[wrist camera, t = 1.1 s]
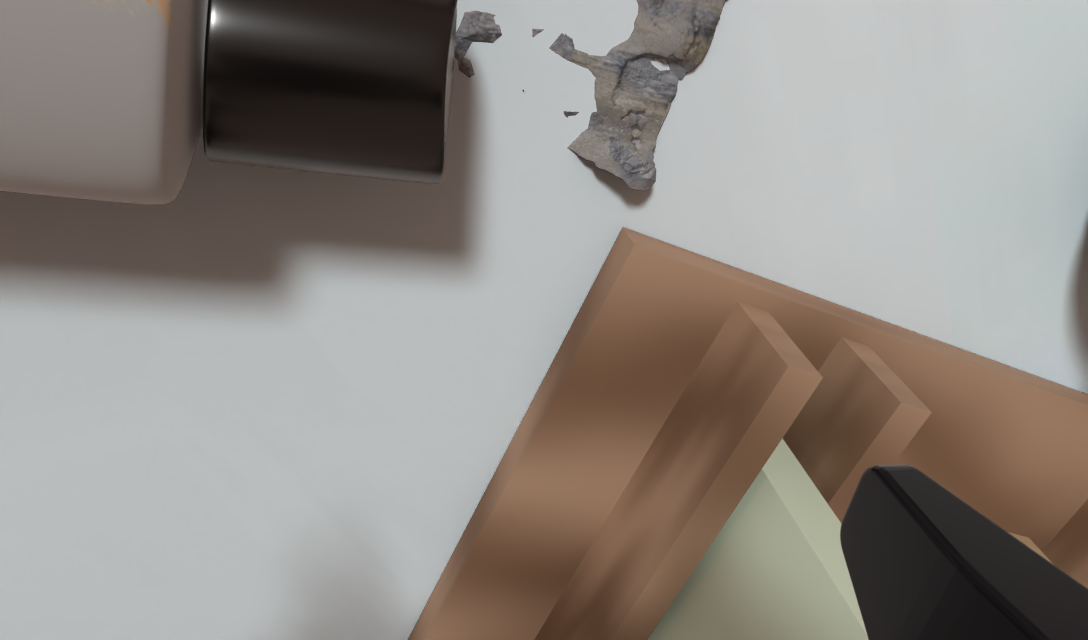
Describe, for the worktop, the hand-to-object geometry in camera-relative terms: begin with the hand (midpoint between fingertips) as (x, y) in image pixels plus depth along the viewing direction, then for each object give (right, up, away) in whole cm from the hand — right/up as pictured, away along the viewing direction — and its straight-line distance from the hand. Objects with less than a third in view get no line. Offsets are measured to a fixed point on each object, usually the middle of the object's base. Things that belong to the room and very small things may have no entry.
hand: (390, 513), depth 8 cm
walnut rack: (+8, -7, +22) cm, 25 cm away
